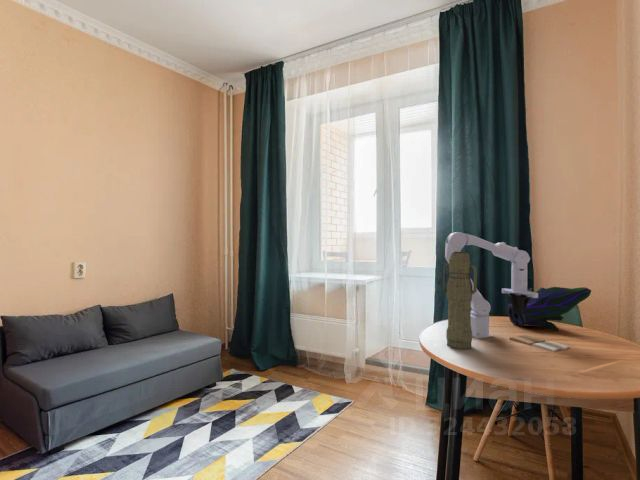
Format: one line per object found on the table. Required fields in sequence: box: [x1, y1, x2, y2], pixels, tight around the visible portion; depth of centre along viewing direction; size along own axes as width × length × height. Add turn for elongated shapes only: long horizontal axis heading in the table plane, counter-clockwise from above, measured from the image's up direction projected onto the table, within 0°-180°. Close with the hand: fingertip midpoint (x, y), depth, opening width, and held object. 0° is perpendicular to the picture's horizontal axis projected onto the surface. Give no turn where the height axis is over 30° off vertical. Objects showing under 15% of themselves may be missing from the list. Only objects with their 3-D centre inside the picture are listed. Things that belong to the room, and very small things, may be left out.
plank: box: [509, 334, 547, 346], centre depth 144 cm, size 10×8×1 cm
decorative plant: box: [505, 286, 592, 332], centre depth 167 cm, size 21×26×30 cm
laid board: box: [530, 340, 571, 353], centre depth 136 cm, size 10×8×1 cm
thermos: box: [442, 251, 478, 351], centre depth 138 cm, size 9×12×35 cm
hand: (519, 313), depth 150 cm, fingers closed
